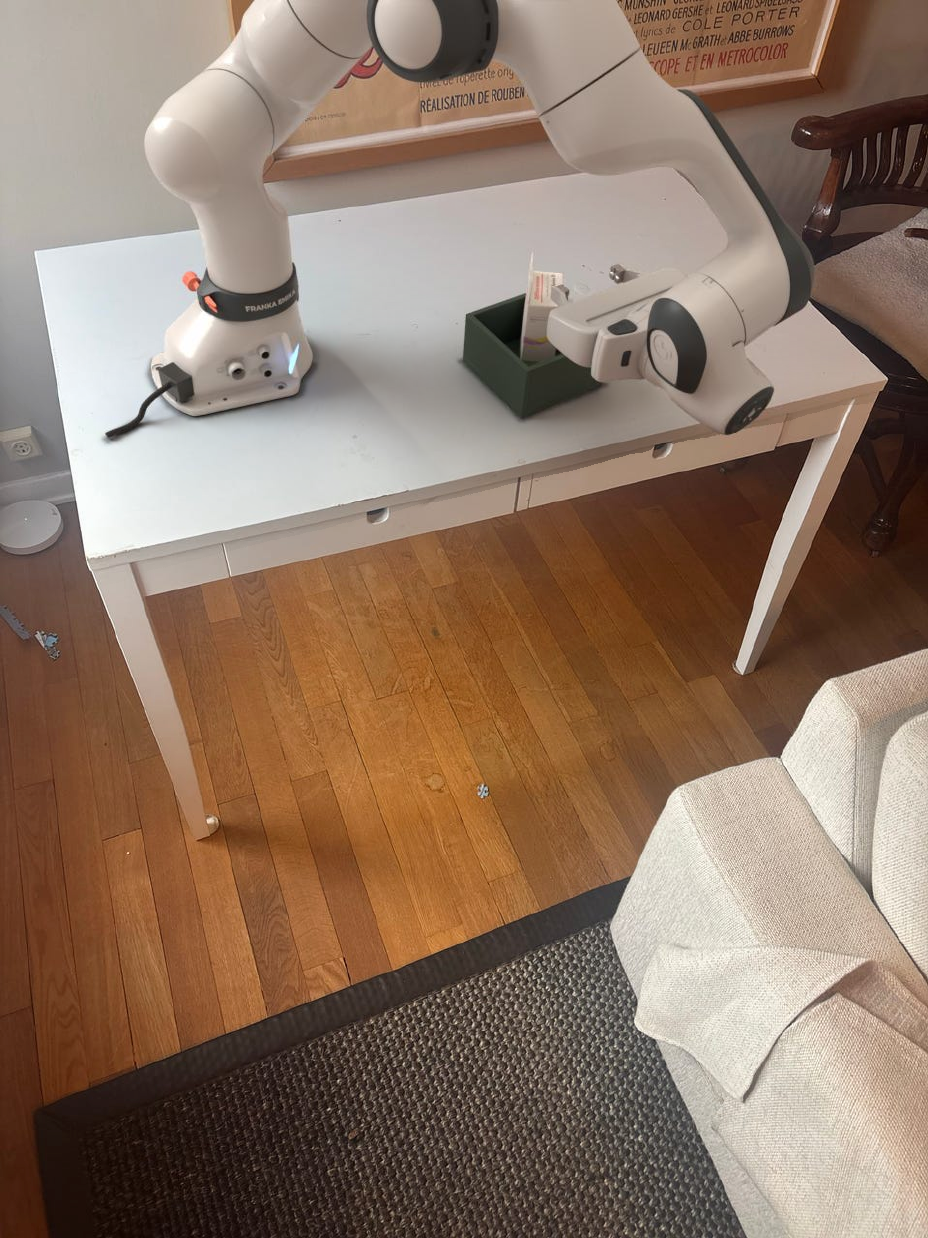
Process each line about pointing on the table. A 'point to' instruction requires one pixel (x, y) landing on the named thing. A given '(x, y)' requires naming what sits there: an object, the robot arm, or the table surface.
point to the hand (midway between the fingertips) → (585, 279)
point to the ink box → (538, 316)
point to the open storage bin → (518, 361)
